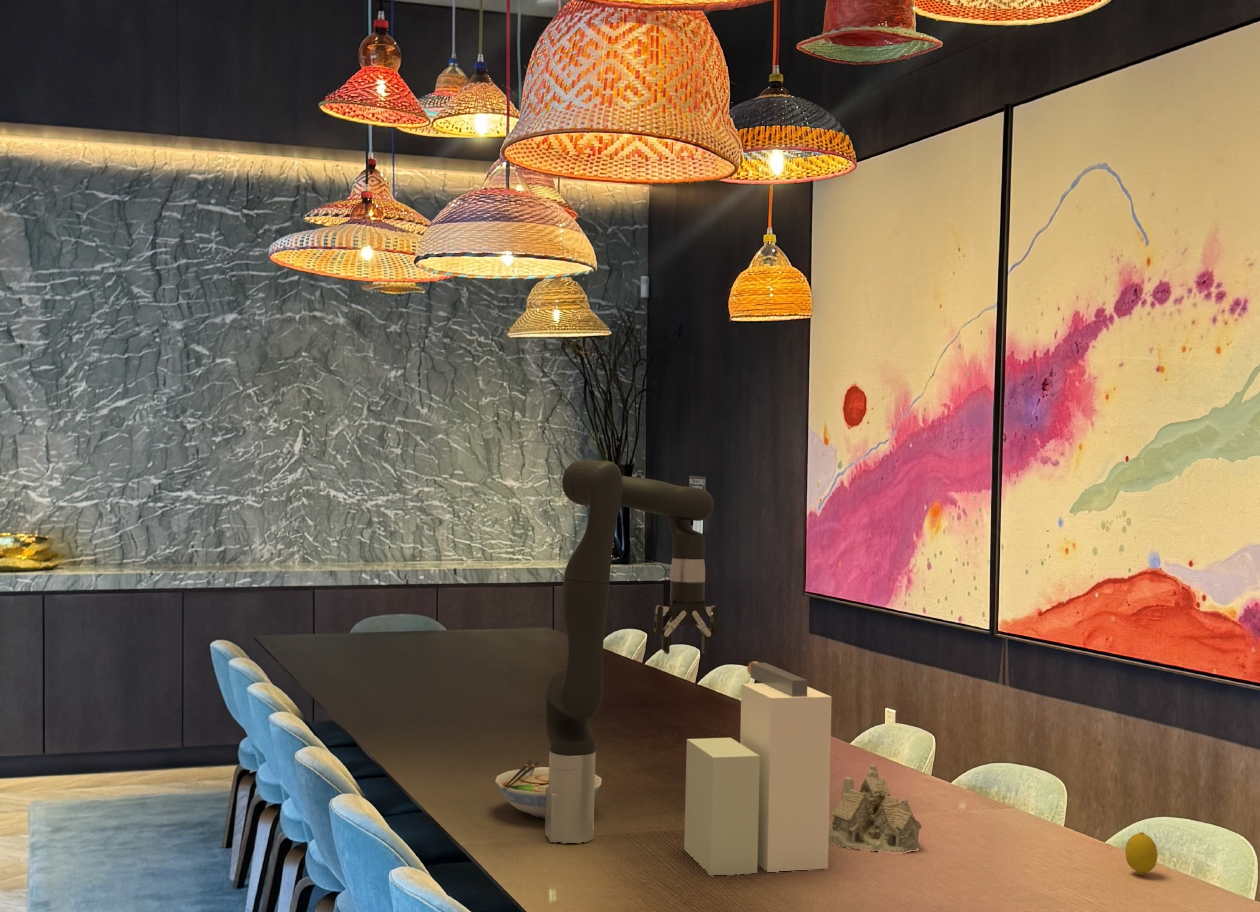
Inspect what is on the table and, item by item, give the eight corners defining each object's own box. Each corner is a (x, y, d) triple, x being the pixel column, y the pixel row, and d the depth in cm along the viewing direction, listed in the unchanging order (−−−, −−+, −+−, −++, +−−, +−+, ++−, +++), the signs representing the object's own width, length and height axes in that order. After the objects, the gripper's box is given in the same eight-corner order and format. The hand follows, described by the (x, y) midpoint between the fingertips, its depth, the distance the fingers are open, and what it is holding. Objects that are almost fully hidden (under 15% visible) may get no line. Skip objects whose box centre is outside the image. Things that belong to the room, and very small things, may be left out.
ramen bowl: (586, 834, 249) (587, 793, 250) (477, 825, 254) (479, 785, 254) (612, 803, 274) (613, 766, 274) (513, 795, 278) (514, 759, 279)
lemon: (1148, 870, 235) (1149, 828, 235) (1162, 880, 229) (1163, 836, 229) (1120, 870, 234) (1120, 827, 235) (1132, 879, 229) (1133, 836, 229)
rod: (792, 696, 230) (792, 680, 230) (747, 676, 253) (747, 661, 254) (807, 696, 231) (807, 680, 231) (760, 675, 254) (761, 661, 254)
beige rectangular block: (710, 876, 225) (713, 757, 225) (684, 850, 240) (686, 739, 241) (757, 873, 227) (759, 755, 227) (728, 848, 243) (730, 737, 243)
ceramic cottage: (817, 835, 252) (823, 762, 252) (886, 832, 258) (892, 761, 258) (857, 863, 238) (864, 785, 237) (929, 859, 244) (936, 783, 243)
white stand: (767, 873, 228) (771, 698, 228) (737, 847, 243) (741, 683, 244) (827, 869, 231) (831, 696, 231) (794, 844, 246) (798, 682, 247)
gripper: (660, 580, 266) (658, 656, 266) (723, 581, 270) (721, 656, 269) (652, 577, 274) (649, 651, 273) (714, 578, 277) (711, 651, 277)
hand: (685, 653), depth 271 cm, fingers open, 8 cm apart
